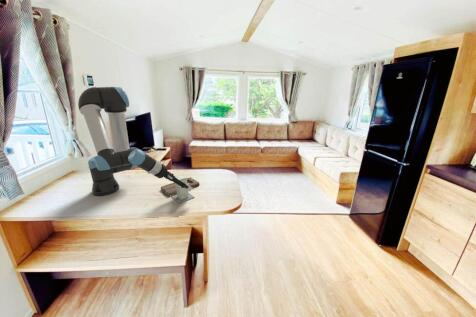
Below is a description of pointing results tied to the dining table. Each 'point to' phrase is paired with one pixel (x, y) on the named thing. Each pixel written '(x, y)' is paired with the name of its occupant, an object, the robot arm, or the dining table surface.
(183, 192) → the puzzle block
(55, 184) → the dining table surface
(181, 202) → the mat
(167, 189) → the puzzle board
